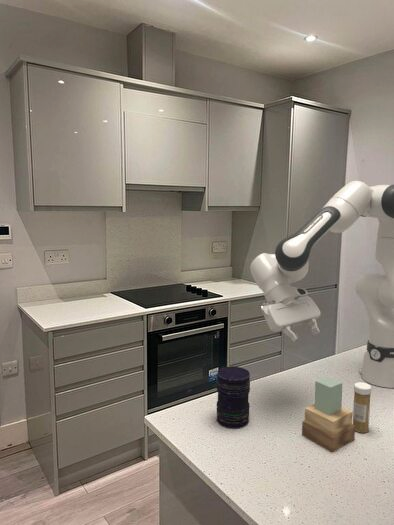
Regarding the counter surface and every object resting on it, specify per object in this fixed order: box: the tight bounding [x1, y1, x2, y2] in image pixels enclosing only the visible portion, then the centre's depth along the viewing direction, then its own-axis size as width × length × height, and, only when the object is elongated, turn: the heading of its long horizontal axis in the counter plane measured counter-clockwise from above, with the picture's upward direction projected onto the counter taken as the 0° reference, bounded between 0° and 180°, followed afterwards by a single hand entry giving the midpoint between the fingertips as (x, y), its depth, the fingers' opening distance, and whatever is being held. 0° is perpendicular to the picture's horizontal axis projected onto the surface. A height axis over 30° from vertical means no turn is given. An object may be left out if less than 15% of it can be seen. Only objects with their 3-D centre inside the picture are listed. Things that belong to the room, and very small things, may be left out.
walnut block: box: [301, 420, 356, 453], centre depth 113 cm, size 10×10×4 cm
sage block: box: [314, 376, 343, 416], centre depth 112 cm, size 5×5×8 cm
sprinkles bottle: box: [352, 381, 372, 434], centre depth 116 cm, size 5×5×14 cm
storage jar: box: [216, 366, 251, 430], centre depth 121 cm, size 10×10×15 cm
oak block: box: [304, 403, 353, 436], centre depth 112 cm, size 9×9×4 cm
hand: (306, 336), depth 121 cm, fingers open, 8 cm apart
